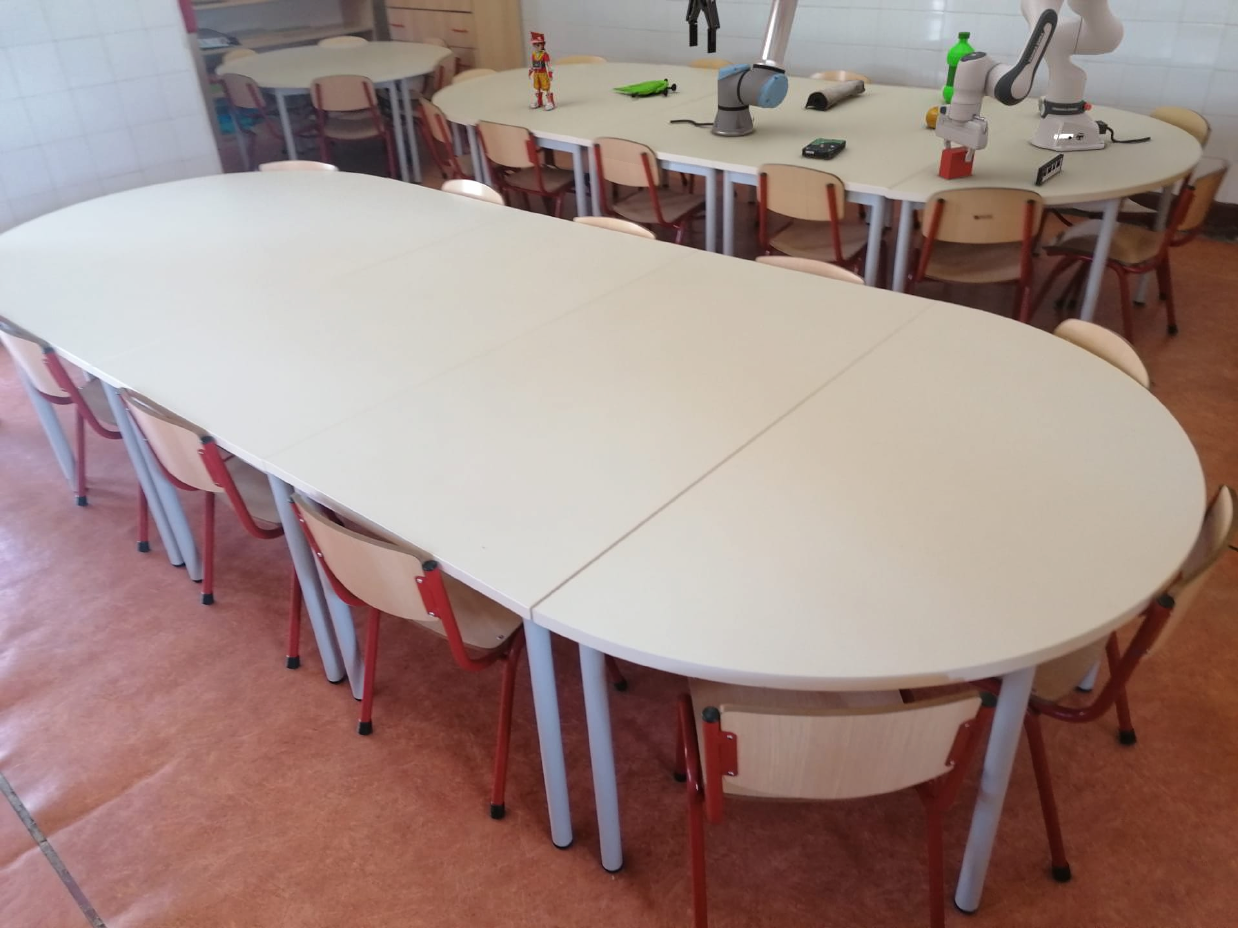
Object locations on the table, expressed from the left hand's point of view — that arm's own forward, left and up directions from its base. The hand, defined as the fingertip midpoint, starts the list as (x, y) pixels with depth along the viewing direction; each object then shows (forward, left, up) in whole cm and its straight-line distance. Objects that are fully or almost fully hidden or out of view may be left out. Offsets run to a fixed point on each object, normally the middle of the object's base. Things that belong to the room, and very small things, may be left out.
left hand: (702, 49), depth 290 cm
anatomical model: (+98, +91, -35) cm, 139 cm away
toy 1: (-97, +43, -35) cm, 112 cm away
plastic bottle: (+60, +103, -35) cm, 124 cm away
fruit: (+63, +64, -35) cm, 97 cm away
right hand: (+83, +11, -29) cm, 88 cm away
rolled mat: (+16, +89, -35) cm, 97 cm away
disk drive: (+36, +20, -35) cm, 54 cm away
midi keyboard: (+109, +18, -35) cm, 116 cm away
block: (+83, +11, -35) cm, 90 cm away
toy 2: (-70, +81, -35) cm, 112 cm away
